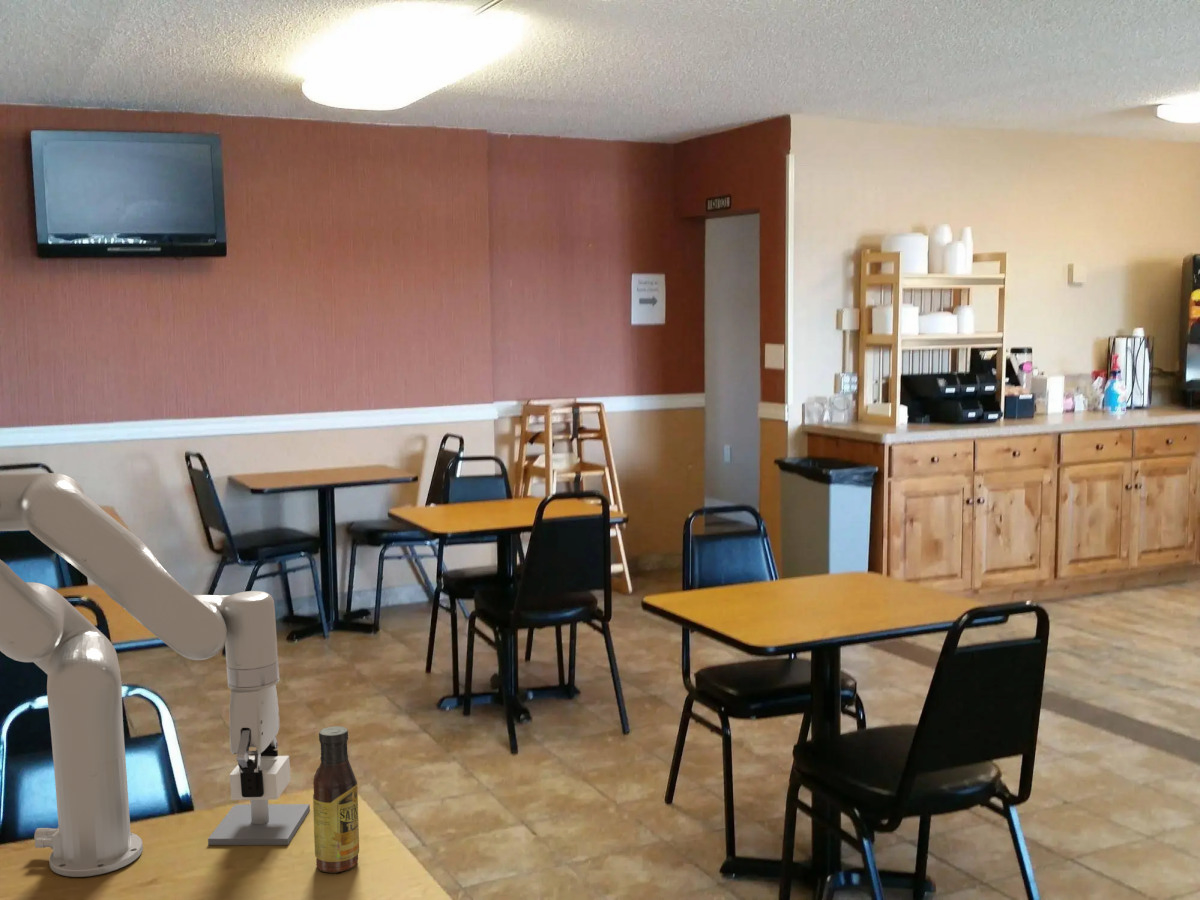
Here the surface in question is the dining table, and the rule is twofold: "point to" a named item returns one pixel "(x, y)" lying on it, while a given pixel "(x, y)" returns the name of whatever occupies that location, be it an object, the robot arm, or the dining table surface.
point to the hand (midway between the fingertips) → (260, 784)
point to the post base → (259, 824)
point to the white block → (265, 778)
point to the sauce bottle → (335, 805)
